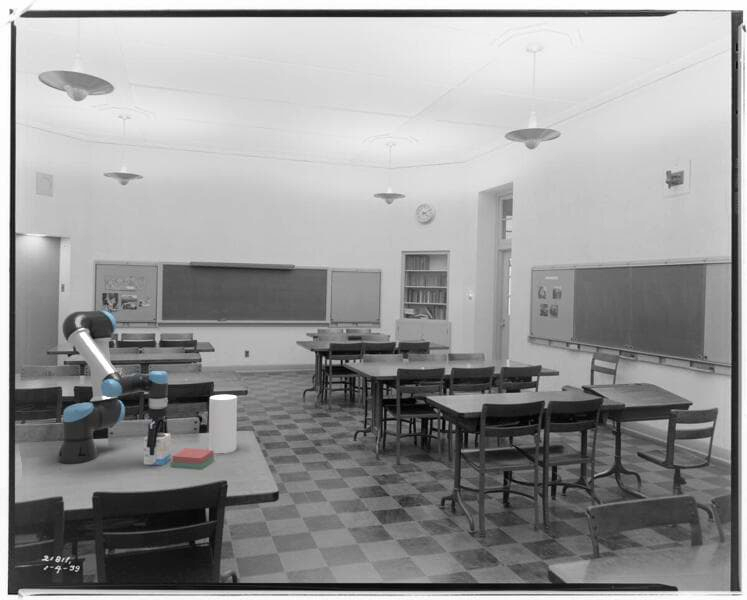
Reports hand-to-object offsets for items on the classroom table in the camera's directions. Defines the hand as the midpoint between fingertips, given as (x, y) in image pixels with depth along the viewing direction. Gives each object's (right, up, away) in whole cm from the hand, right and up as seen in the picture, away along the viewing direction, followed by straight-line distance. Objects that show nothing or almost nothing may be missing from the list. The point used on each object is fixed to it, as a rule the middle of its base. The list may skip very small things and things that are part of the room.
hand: (157, 458), depth 240 cm
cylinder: (+23, -2, +20) cm, 30 cm away
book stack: (+16, -2, -1) cm, 16 cm away
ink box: (0, -2, 0) cm, 2 cm away
